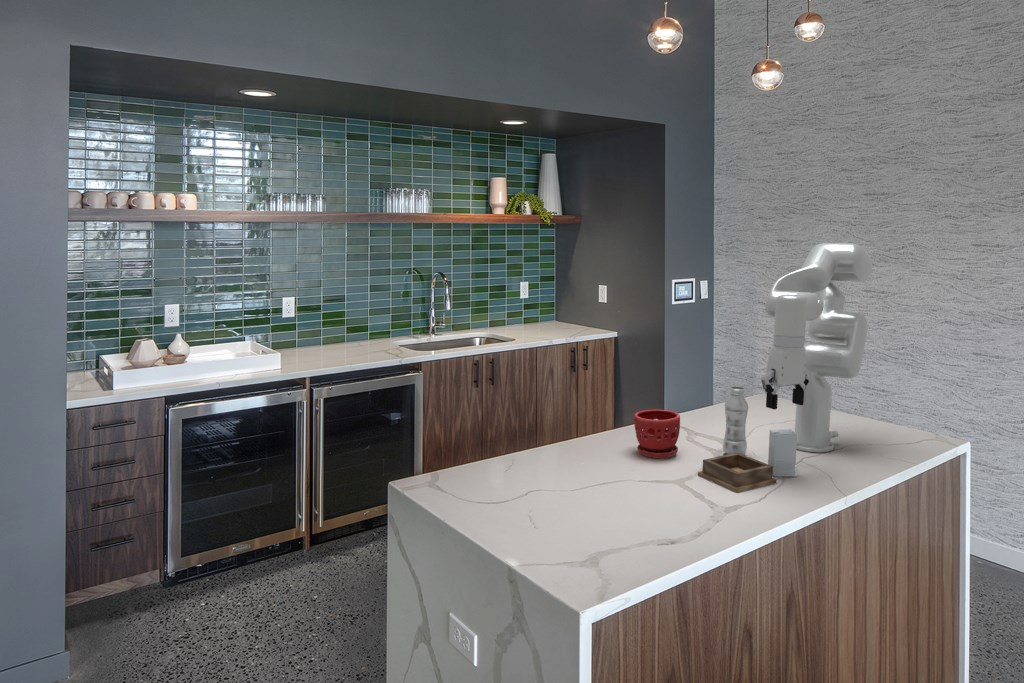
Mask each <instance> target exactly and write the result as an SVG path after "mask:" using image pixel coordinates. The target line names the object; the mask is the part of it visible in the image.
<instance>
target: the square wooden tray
mask: <svg viewBox="0 0 1024 683" xmlns="http://www.w3.org/2000/svg"><path fill="white" fill-rule="evenodd" d="M772 473H773V466H771V465H768V463H765V462H763V461H760V460H758V459H754V458H752V457H750V456H747V455H745V454H744V455H742V454H740V453H734V454H729V455H728V454H724V455H719V456H715V457H711V458H705V459H702V470H700V471H697V476H698V477H701V478H702V479H704V480H707V481H709V482H711V481H712V483H713V482H714V484H716V485H718V486H720V485H721V486H720V487H722V486H723V487H722V488H725V489H727V490H730V491H732V492H733V493H738V494H739V493H741V492H746V491H750V490H755V489H759V488H762V487H767V486H771V485H775V484H777V482H778V481H777V480H778V479H776V478H774V477H773V476H772Z"/></svg>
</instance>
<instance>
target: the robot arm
mask: <svg viewBox="0 0 1024 683" xmlns="http://www.w3.org/2000/svg"><path fill="white" fill-rule="evenodd" d="M872 272H873V261H872V257H871V255H870V254H869V252H867V251H866V249H865V248H864V247H862V246H861V245H859V244H857V243H851V242H822V243H821V242H820V243H818V244H816V245H814V246H813V247H812V248H811V250H810V251H809V253H808V255H807V257H806V258H805V261H804V262H803V263H802V265H801V268H799V269H796V270H794V271H792V272H790V273H787V274H785V275H784V276H781V277H780V278H778V279H777V280H776V281H775V282H773V285H772V286H771V288H770V290H769V292H768V294H767V297H766V300H765V304H764V306H765V312H766V314H767V315H768V316H769V317H771V318H773V319H774V323H773V324H774V325H773V326H774V327H773V341H772V342H773V344H772V346H771V348H770V350H769V354H768V358H767V364H766V369H765V370H766V371H765V374H764V375H763V376H762V377H761V378H760V382H761V384H762V388H763V390H764V393H766V398H765V407H766V408H768V409H771V410H777V409H778V398H779V395H778V394H777V393H778V391H779V389H780V388H781V387H789V386H790V387H791V386H794V388H792V396H791V397H792V399H791V400H792V402H791V403H792V404H795V406H796V407H795V421H794V422H795V424H794V432H795V433H797V446H796V450H799V451H803V452H808V453H828V452H829V453H830V451H833V450H834V448H835V444H834V443H833V442H832V441H831V440H832V439H833V438H838V437H839V431H837V430H833V431H830V428H831V427H830V425H831V412H832V411H831V410H832V398H833V397H832V396H833V392H832V391H833V390H832V386H831V384H830V383H829V382H828V380H827V379H826V377H829V378H830V377H832V378H839V379H854V378H856V377H857V376H858V375H859V373H860V369H861V367H862V362H863V356H864V353H865V352H864V351H865V347H866V346H865V345H866V342H867V335H868V321H867V318H866V316H865V315H864V314H862V313H860V312H855V311H854V312H852V311H844V308H845V304H846V297H845V295H844V294H843V292H842V290H841V289H840V288H839V287H838V286H837V285H836V284H835V282H851V283H852V282H857V283H861V282H862V283H863V282H865V281H867V280H868V279H869V278H870V276H871V274H872ZM807 322H809V324H808V329H807V330H808V336H809V337H810V339H812V340H814V341H817V342H814V341H812V342H805V340H806V327H807V325H806V323H807ZM773 386H774V387H773Z"/></svg>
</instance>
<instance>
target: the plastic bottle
mask: <svg viewBox="0 0 1024 683" xmlns="http://www.w3.org/2000/svg"><path fill="white" fill-rule="evenodd" d="M729 394H730V395H729V397H728V398H727V399H726V401H725V402H724V415H725V432H724V438H723V442H722V443H723V444H722V450H723V452H724V454H725V455H729V454H734V453H740V454H742V455H745V454H746V453H747V449H748V445H747V444H748V443H747V438H746V428H747V426H746V424H747V418H748V412H749V404H748V401H747V400H746V398H745V397H744V396H745V387H743V386H730V391H729Z"/></svg>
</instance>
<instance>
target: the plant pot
mask: <svg viewBox="0 0 1024 683" xmlns="http://www.w3.org/2000/svg"><path fill="white" fill-rule="evenodd" d="M633 416H634V417H633V419H634V429H635V435H636V436H635V437H636V439H637V442H638V445H637V451H638V453H640V454H641V455H642V456H645V457H647V456H648V457H647V458H655V459H661V458H662V459H665V458H666V459H667V458H670V457H673V456H674V455H676V454H677V453H678V451H679V447H678V446H677V445H676V444H677V442H678V440H679V436H680V430H681V429H680V428H681V415H680V413H678V412H675V411H673V410H669V409H667V410H666V409H645V410H639V411H637V412H636V413H635V414H634V415H633Z"/></svg>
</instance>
